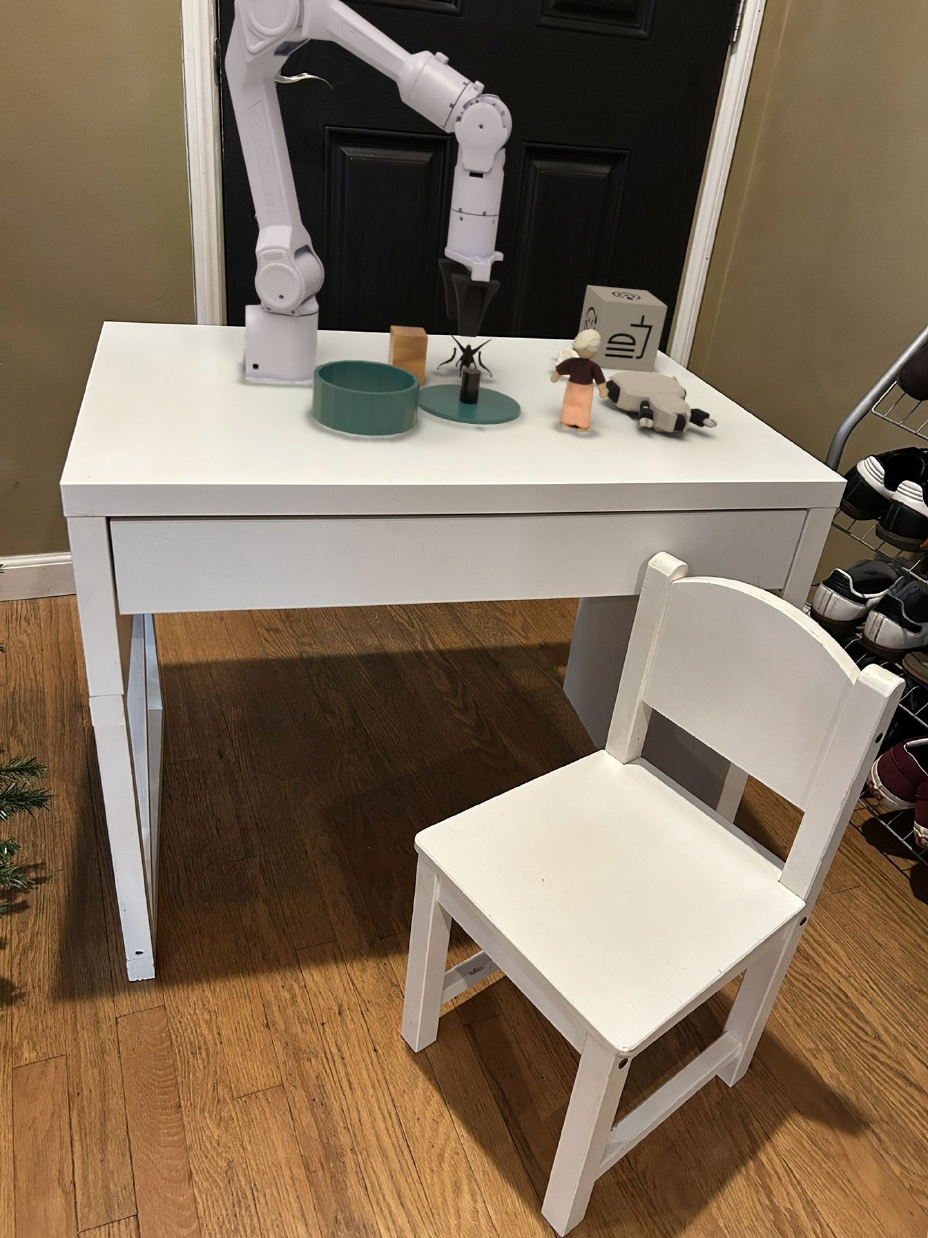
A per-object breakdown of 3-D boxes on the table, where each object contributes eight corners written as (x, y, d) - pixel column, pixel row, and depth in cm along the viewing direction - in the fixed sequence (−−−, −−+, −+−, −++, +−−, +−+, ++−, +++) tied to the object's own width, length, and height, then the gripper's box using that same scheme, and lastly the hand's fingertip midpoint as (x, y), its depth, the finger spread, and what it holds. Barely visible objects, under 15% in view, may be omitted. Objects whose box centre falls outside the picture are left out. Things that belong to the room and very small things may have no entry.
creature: (489, 393, 132) (494, 365, 138) (493, 358, 129) (498, 331, 134) (433, 385, 132) (441, 357, 138) (436, 350, 129) (444, 323, 134)
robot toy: (717, 446, 124) (665, 399, 135) (727, 414, 121) (674, 368, 133) (634, 446, 120) (588, 397, 131) (643, 413, 117) (595, 366, 129)
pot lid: (423, 426, 115) (427, 385, 112) (408, 389, 126) (411, 351, 124) (530, 430, 118) (537, 391, 115) (506, 394, 129) (511, 357, 127)
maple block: (390, 387, 126) (394, 334, 123) (386, 376, 130) (390, 325, 126) (423, 388, 127) (428, 336, 124) (418, 378, 131) (423, 327, 127)
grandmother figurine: (603, 431, 121) (623, 332, 115) (597, 440, 118) (617, 338, 111) (545, 418, 123) (562, 319, 116) (538, 427, 120) (555, 326, 113)
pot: (315, 437, 107) (317, 390, 105) (309, 400, 118) (311, 356, 115) (422, 442, 110) (427, 396, 107) (407, 405, 121) (411, 363, 118)
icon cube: (652, 371, 148) (667, 306, 143) (592, 366, 146) (604, 300, 141) (633, 352, 157) (646, 290, 151) (575, 347, 155) (587, 285, 149)
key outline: (541, 357, 147) (543, 346, 147) (571, 359, 149) (573, 348, 148) (564, 384, 137) (566, 372, 136) (597, 386, 138) (599, 374, 137)
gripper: (522, 225, 106) (505, 346, 113) (494, 204, 118) (480, 314, 125) (461, 220, 105) (448, 342, 112) (439, 199, 117) (428, 310, 124)
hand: (461, 327), depth 118 cm, fingers open, 7 cm apart
